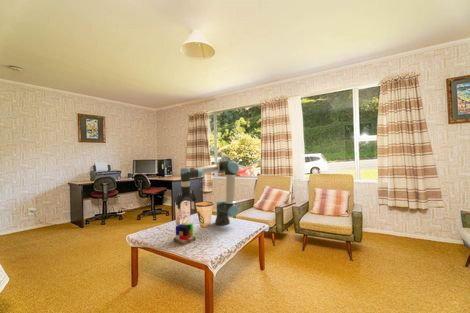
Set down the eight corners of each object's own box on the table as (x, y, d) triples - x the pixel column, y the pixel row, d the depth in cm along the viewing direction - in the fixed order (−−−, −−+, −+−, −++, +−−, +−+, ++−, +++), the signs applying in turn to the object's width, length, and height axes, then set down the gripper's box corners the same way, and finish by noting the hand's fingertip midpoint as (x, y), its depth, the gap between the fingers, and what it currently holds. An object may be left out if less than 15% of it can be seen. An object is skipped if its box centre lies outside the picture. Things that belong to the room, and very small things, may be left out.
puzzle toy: (175, 238, 177) (175, 226, 177) (182, 234, 186) (182, 223, 186) (186, 240, 174) (186, 227, 173) (192, 235, 183) (192, 224, 183)
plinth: (186, 236, 189) (186, 233, 189) (195, 240, 181) (195, 236, 180) (173, 241, 179) (173, 237, 179) (182, 245, 171) (182, 241, 171)
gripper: (194, 183, 196) (195, 206, 196) (170, 187, 176) (171, 213, 177) (199, 184, 191) (200, 208, 191) (175, 188, 172) (176, 215, 172)
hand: (186, 210), depth 184 cm, fingers open, 13 cm apart
